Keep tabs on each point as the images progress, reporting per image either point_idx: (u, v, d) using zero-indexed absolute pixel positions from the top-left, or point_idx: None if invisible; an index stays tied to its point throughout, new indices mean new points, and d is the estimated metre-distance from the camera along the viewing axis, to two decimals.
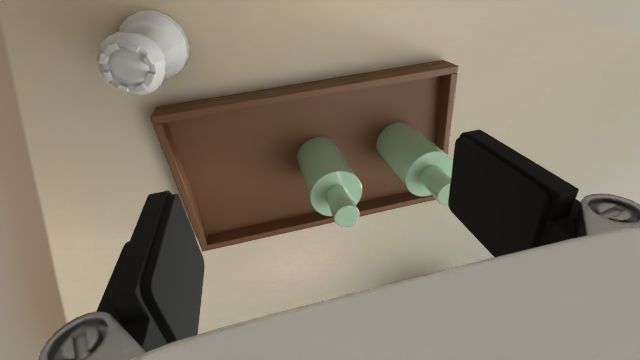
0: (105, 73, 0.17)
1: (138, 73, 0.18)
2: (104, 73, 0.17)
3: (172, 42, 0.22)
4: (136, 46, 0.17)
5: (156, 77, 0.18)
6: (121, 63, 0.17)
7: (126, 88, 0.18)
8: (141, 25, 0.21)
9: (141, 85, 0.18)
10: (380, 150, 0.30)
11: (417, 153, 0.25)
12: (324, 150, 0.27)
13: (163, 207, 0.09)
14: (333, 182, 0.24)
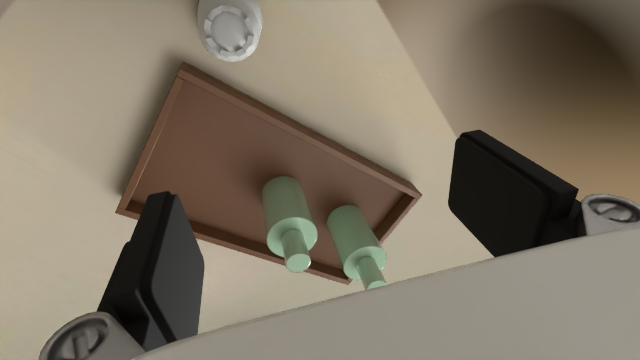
0: (208, 21, 0.17)
1: (232, 41, 0.18)
2: (207, 20, 0.17)
3: None
4: (251, 23, 0.18)
5: (242, 54, 0.18)
6: (226, 24, 0.17)
7: (213, 44, 0.17)
8: (242, 1, 0.21)
9: (227, 52, 0.18)
10: (332, 219, 0.33)
11: (368, 242, 0.29)
12: (298, 194, 0.29)
13: (163, 207, 0.09)
14: (297, 226, 0.26)
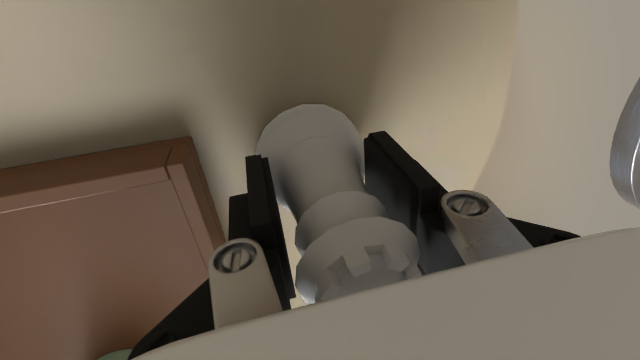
0: (368, 266, 0.07)
1: None
2: (368, 264, 0.07)
3: None
4: None
5: None
6: (377, 279, 0.08)
7: (330, 297, 0.07)
8: (361, 177, 0.12)
9: None
10: None
11: None
12: None
13: (263, 166, 0.10)
14: None
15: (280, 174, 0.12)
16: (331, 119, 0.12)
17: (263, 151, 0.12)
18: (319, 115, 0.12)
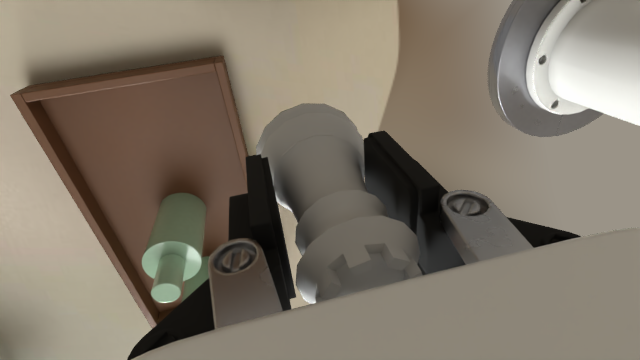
0: (369, 265, 0.07)
1: None
2: (369, 263, 0.07)
3: None
4: None
5: None
6: (378, 278, 0.08)
7: (330, 296, 0.07)
8: (361, 176, 0.12)
9: None
10: None
11: None
12: (204, 226, 0.27)
13: (263, 165, 0.10)
14: (187, 257, 0.24)
15: (281, 173, 0.12)
16: (331, 118, 0.12)
17: (264, 150, 0.12)
18: (319, 114, 0.12)
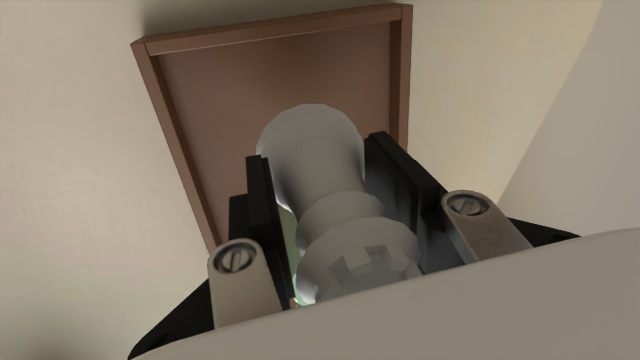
0: (368, 267, 0.07)
1: None
2: (368, 264, 0.07)
3: None
4: None
5: None
6: (378, 279, 0.08)
7: (330, 298, 0.07)
8: (361, 177, 0.12)
9: None
10: None
11: None
12: None
13: (263, 165, 0.10)
14: None
15: (280, 174, 0.12)
16: (331, 119, 0.12)
17: (263, 151, 0.12)
18: (319, 115, 0.12)
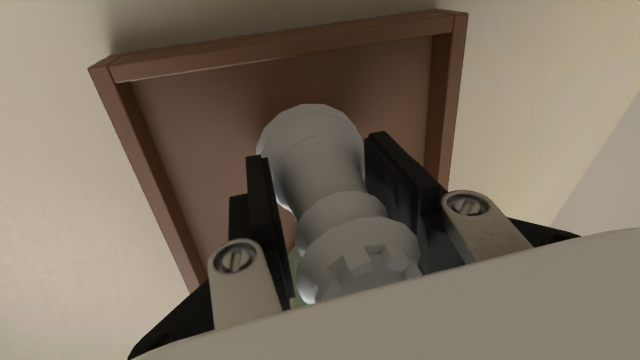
0: (368, 266, 0.07)
1: None
2: (368, 264, 0.07)
3: None
4: None
5: None
6: (378, 279, 0.08)
7: (330, 298, 0.07)
8: (361, 176, 0.12)
9: None
10: None
11: None
12: None
13: (263, 165, 0.10)
14: None
15: (281, 174, 0.12)
16: (331, 119, 0.12)
17: (263, 151, 0.12)
18: (319, 115, 0.12)
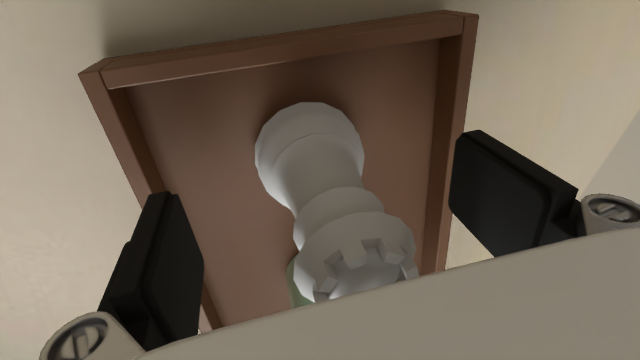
0: (364, 259, 0.07)
1: None
2: (364, 257, 0.07)
3: None
4: None
5: None
6: (374, 273, 0.08)
7: (327, 290, 0.07)
8: (358, 174, 0.12)
9: None
10: None
11: None
12: None
13: (163, 207, 0.09)
14: None
15: (279, 171, 0.12)
16: (329, 117, 0.12)
17: (262, 149, 0.12)
18: (317, 113, 0.12)
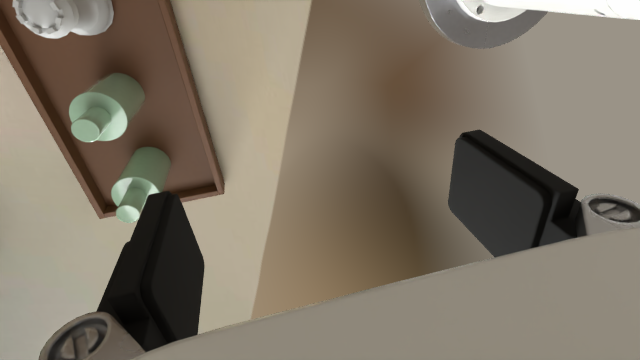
0: None
1: (36, 19, 0.21)
2: None
3: (85, 28, 0.26)
4: (62, 23, 0.22)
5: None
6: (41, 6, 0.21)
7: (17, 7, 0.21)
8: (93, 6, 0.26)
9: (24, 20, 0.21)
10: (142, 150, 0.34)
11: (154, 181, 0.30)
12: (136, 100, 0.30)
13: (163, 207, 0.09)
14: (113, 112, 0.26)
15: None
16: None
17: None
18: None
